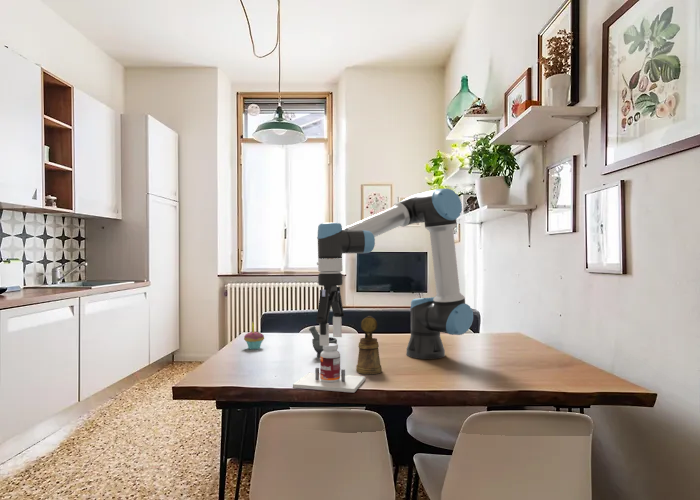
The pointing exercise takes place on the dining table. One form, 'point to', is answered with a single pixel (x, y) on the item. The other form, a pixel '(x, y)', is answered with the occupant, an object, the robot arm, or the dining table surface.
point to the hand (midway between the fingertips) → (331, 341)
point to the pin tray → (343, 385)
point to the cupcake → (254, 339)
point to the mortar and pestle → (317, 341)
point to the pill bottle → (330, 363)
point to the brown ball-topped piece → (368, 349)
